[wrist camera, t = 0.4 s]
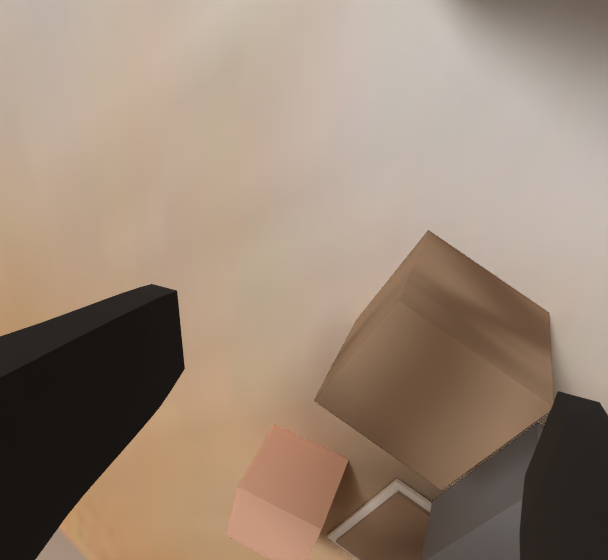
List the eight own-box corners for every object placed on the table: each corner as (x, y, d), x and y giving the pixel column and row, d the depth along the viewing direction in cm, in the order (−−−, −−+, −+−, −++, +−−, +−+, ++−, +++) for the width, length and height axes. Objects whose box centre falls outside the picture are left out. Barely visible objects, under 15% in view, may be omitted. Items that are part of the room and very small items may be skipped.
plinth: (690, 522, 20) (716, 612, 17) (558, 583, 24) (562, 663, 21) (537, 418, 20) (538, 489, 17) (433, 496, 24) (420, 563, 21)
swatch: (518, 563, 24) (518, 571, 24) (431, 608, 28) (430, 615, 28) (397, 478, 24) (395, 484, 24) (328, 534, 28) (326, 540, 28)
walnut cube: (549, 311, 18) (553, 407, 14) (458, 391, 21) (441, 490, 17) (428, 229, 18) (398, 300, 14) (356, 320, 21) (313, 400, 17)
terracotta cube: (349, 458, 25) (321, 529, 22) (329, 504, 27) (301, 575, 24) (274, 423, 26) (237, 486, 22) (261, 470, 28) (225, 534, 25)
